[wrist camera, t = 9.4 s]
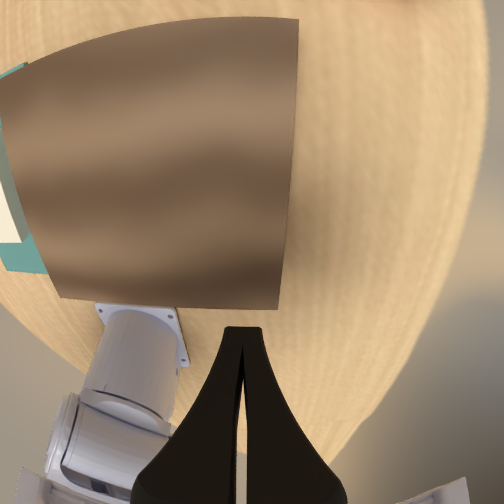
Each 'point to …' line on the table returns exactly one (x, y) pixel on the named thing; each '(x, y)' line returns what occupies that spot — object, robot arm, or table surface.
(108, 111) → the stand
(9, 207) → the tile
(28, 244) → the mat
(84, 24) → the table surface
